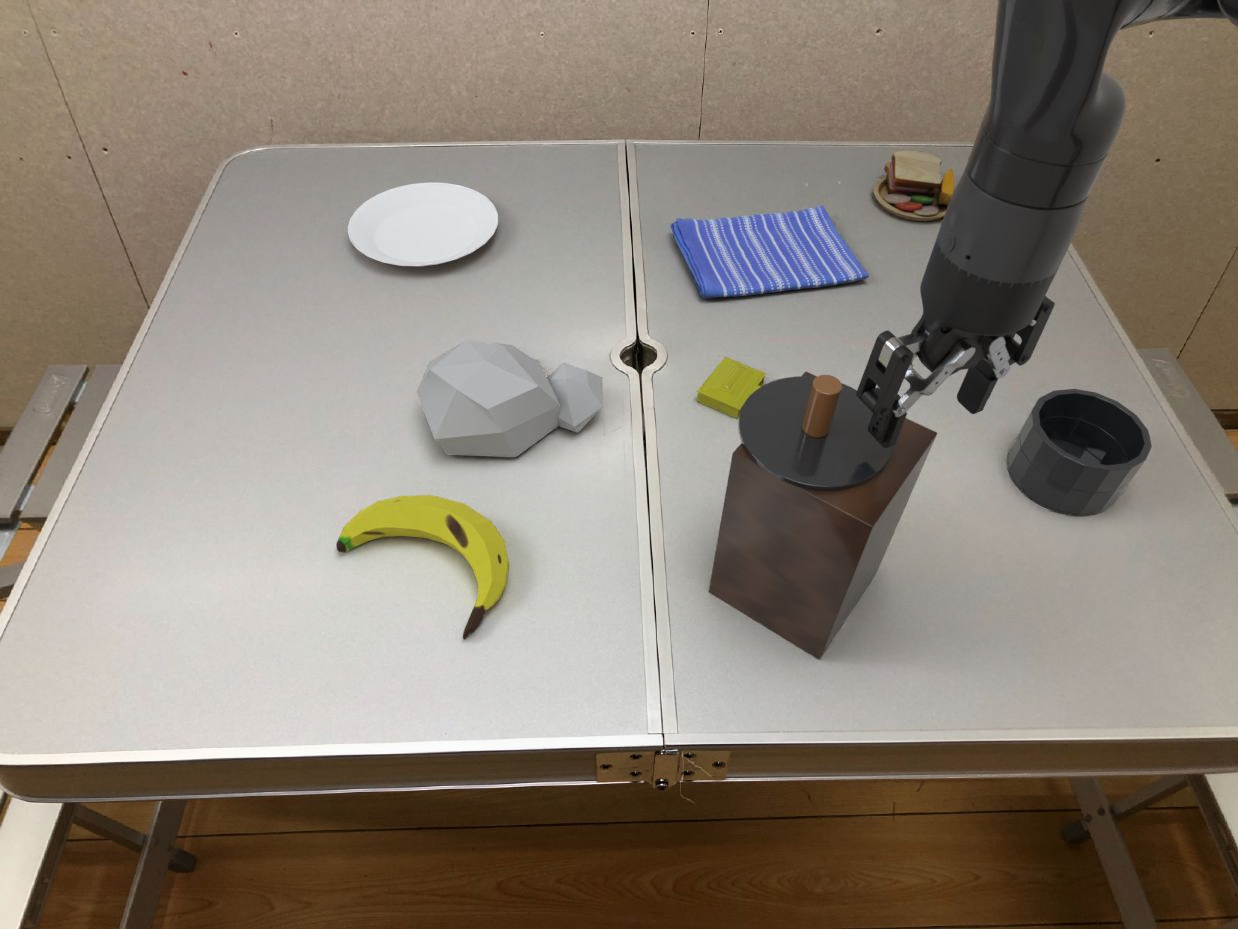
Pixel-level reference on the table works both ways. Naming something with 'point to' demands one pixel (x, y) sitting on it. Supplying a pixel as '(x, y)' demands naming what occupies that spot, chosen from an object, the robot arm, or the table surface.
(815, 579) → the brown rectangular block
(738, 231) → the dish towel
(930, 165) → the toy sandwich meal
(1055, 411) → the pot
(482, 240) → the plate
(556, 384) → the rock
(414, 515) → the banana
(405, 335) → the table surface
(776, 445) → the lid
